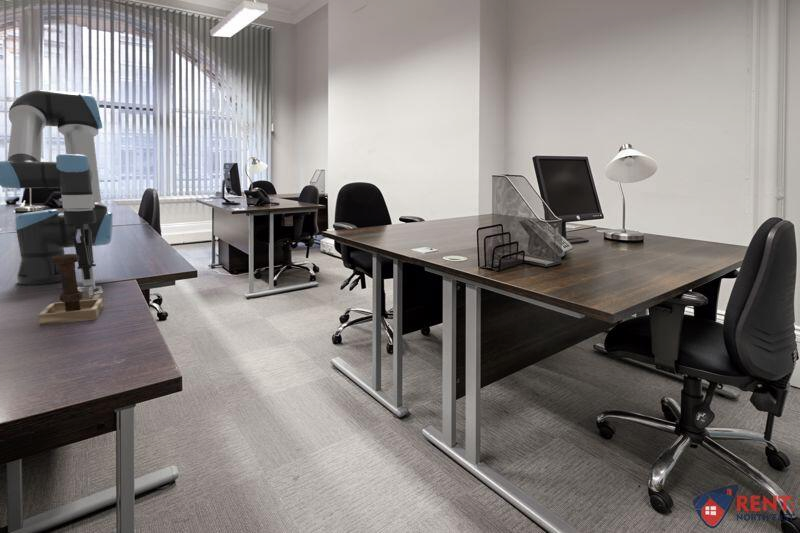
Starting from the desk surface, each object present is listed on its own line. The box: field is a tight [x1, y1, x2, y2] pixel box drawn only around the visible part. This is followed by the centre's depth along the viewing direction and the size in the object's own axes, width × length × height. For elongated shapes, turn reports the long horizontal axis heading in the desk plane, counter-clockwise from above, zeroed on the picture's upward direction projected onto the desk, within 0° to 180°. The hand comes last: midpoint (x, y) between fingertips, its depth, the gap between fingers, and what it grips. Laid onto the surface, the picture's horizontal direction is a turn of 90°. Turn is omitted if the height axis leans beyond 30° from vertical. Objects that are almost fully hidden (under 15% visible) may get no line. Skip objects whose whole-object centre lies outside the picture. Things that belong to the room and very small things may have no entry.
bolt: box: [52, 253, 83, 312], centre depth 115 cm, size 6×5×15 cm
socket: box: [37, 293, 105, 326], centre depth 121 cm, size 23×12×2 cm, turn 25°
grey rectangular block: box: [77, 285, 95, 300], centre depth 129 cm, size 6×4×4 cm, turn 25°
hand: (89, 289), depth 136 cm, fingers closed
